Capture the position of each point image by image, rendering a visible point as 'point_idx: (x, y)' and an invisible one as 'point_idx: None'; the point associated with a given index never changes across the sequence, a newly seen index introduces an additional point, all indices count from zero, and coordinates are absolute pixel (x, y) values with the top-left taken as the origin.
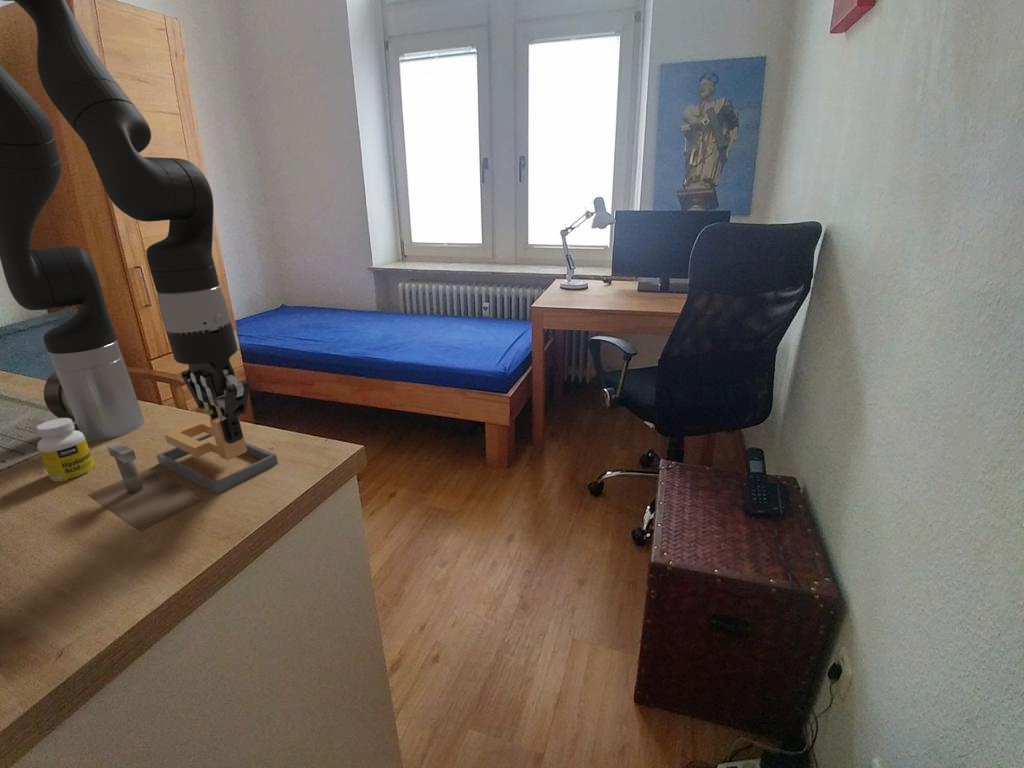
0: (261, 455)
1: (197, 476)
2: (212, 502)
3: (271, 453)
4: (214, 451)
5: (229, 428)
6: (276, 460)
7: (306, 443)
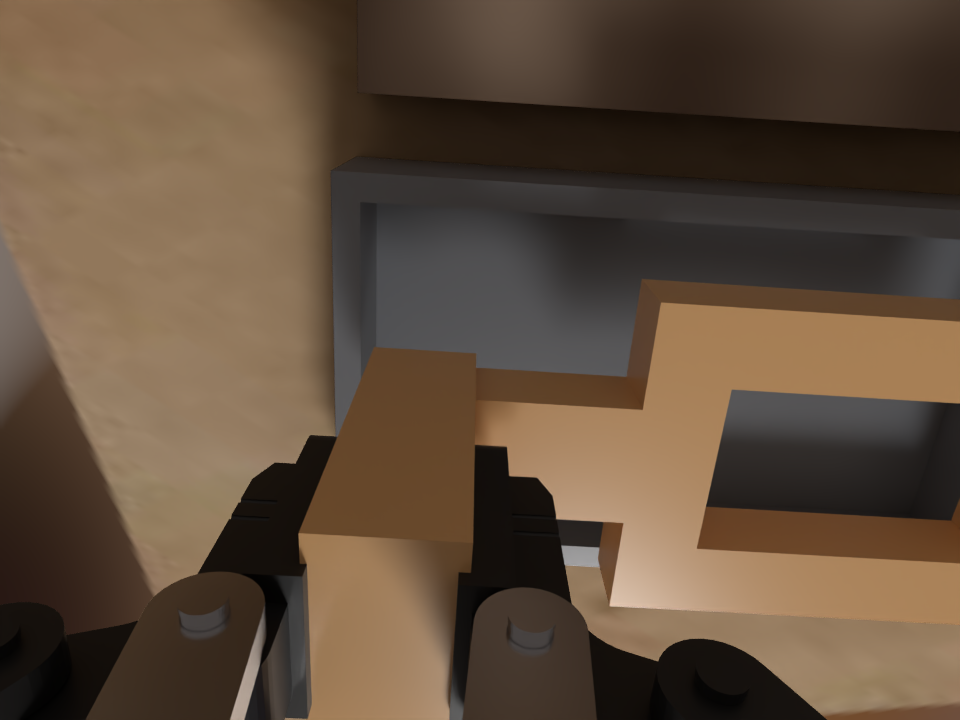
0: None
1: (549, 184)
2: (401, 140)
3: None
4: (575, 378)
5: (225, 538)
6: None
7: None
